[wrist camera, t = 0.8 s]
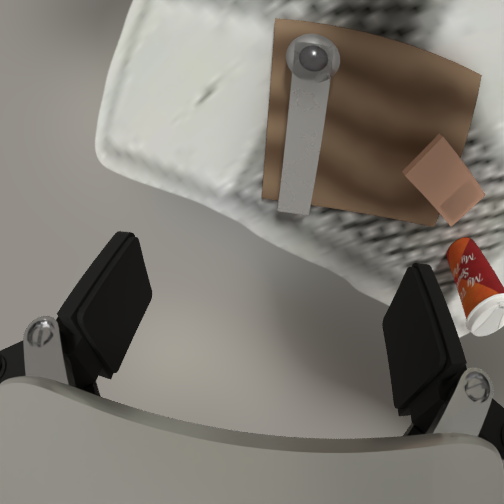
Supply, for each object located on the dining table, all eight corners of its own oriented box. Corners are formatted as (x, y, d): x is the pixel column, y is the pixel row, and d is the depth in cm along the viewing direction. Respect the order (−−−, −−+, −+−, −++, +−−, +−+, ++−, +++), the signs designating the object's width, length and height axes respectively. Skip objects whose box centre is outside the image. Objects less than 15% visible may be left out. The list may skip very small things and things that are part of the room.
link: (289, 32, 23) (287, 30, 20) (338, 39, 23) (344, 38, 20) (273, 197, 36) (270, 214, 33) (313, 203, 36) (314, 220, 33)
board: (276, 19, 23) (275, 18, 22) (476, 73, 21) (481, 75, 20) (262, 193, 38) (261, 198, 37) (431, 222, 36) (433, 227, 35)
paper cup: (448, 230, 36) (484, 303, 25) (486, 232, 34) (524, 299, 24) (434, 269, 41) (459, 341, 30) (471, 269, 39) (498, 336, 29)
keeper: (389, 152, 31) (404, 175, 26) (420, 119, 27) (443, 136, 22) (433, 198, 33) (451, 226, 28) (463, 170, 30) (485, 194, 25)
